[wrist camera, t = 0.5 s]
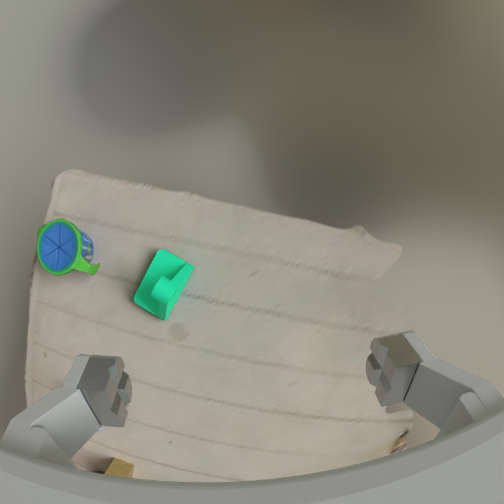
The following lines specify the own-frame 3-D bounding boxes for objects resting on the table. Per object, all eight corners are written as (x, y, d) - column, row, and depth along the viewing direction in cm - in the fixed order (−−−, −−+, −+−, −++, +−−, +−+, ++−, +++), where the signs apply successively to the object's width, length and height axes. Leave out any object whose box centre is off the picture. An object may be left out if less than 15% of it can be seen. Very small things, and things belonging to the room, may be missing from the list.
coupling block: (137, 466, 57) (128, 484, 49) (134, 479, 57) (126, 497, 49) (111, 456, 57) (100, 472, 49) (110, 469, 57) (99, 486, 49)
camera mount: (163, 248, 61) (149, 243, 51) (195, 267, 62) (187, 265, 51) (136, 299, 60) (118, 304, 50) (167, 319, 61) (154, 327, 50)
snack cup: (118, 254, 61) (98, 250, 51) (90, 293, 60) (68, 295, 50) (72, 210, 61) (49, 200, 51) (47, 247, 60) (22, 243, 50)
